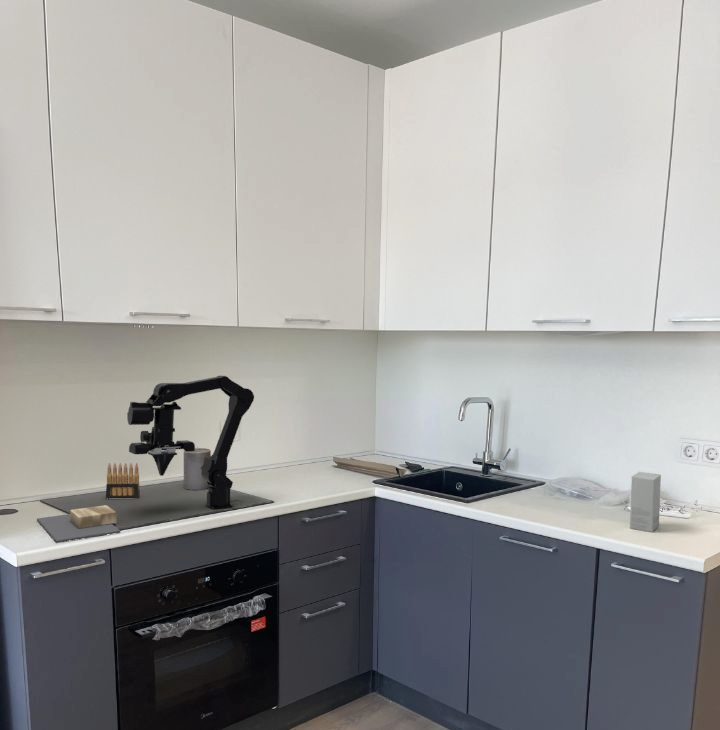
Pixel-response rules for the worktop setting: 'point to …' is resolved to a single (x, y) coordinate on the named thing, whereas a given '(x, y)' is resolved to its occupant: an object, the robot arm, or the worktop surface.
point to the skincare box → (645, 501)
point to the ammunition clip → (122, 482)
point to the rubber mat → (72, 529)
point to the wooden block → (92, 516)
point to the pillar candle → (195, 468)
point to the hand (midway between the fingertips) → (161, 475)
